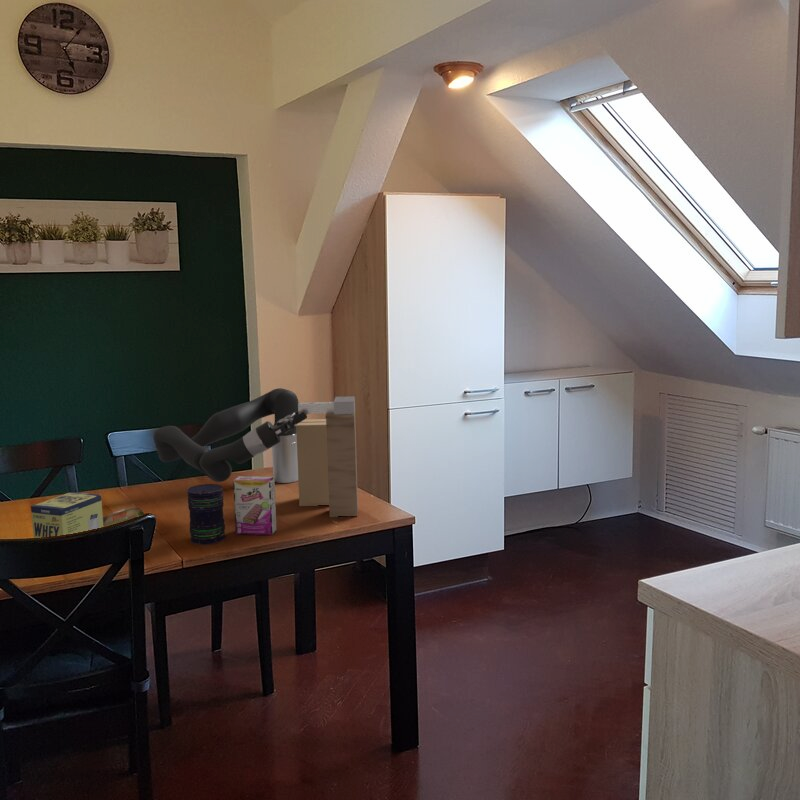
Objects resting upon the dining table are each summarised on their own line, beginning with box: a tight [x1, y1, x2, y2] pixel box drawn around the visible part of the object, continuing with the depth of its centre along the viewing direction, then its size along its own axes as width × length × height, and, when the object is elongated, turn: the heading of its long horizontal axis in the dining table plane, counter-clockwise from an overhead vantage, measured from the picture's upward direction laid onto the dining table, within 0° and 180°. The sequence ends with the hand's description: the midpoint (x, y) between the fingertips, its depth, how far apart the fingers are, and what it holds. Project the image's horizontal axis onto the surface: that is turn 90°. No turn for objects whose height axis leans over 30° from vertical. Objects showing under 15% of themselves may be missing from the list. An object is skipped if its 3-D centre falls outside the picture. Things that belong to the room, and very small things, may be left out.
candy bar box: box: [232, 475, 277, 536], centre depth 242 cm, size 11×5×16 cm, turn 84°
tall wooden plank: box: [325, 412, 359, 518], centre depth 258 cm, size 12×8×32 cm
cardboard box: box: [296, 418, 329, 507], centre depth 272 cm, size 10×12×27 cm
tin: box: [103, 506, 145, 526], centre depth 240 cm, size 15×3×8 cm, turn 148°
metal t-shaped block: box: [298, 395, 356, 415], centre depth 255 cm, size 10×17×4 cm, turn 91°
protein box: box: [30, 491, 104, 539], centre depth 226 cm, size 10×16×16 cm
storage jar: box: [186, 483, 226, 546], centre depth 237 cm, size 10×10×15 cm
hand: (306, 412), depth 255 cm, fingers open, 8 cm apart
